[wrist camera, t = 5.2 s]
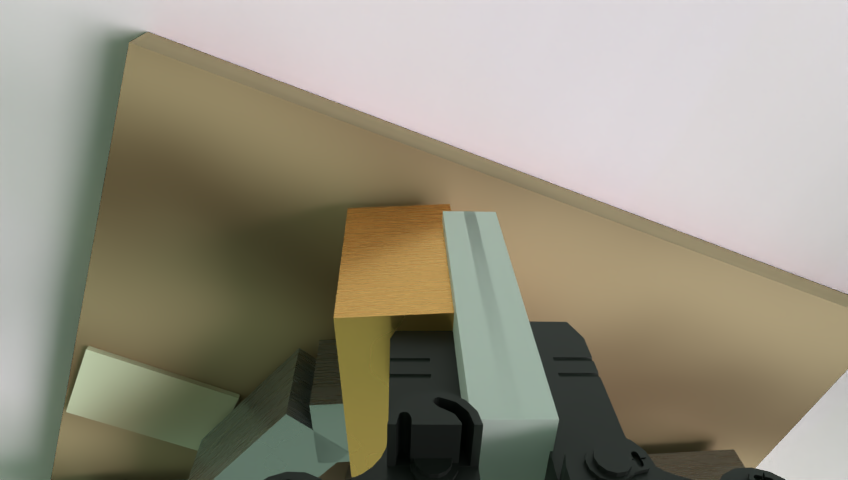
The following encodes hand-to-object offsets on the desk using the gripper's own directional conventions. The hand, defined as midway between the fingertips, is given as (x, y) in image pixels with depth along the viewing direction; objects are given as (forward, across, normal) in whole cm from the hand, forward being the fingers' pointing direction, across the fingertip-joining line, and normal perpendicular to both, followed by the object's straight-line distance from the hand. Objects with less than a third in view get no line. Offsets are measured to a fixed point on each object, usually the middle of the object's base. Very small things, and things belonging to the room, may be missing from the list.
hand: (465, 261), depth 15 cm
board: (+3, -1, -9) cm, 10 cm away
